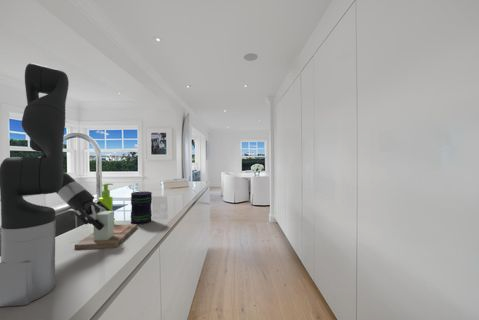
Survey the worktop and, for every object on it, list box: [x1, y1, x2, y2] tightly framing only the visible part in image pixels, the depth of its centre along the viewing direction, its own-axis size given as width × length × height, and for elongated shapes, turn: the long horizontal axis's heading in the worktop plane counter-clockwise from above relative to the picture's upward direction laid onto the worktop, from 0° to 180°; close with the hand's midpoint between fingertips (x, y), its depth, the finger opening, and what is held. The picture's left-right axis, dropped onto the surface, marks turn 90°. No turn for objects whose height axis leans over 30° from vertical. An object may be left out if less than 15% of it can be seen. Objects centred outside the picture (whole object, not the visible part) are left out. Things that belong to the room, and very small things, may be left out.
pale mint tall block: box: [93, 210, 115, 241], centre depth 81 cm, size 5×5×10 cm
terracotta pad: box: [114, 226, 129, 233], centre depth 90 cm, size 9×9×1 cm
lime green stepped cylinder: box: [98, 182, 114, 211], centre depth 102 cm, size 6×7×20 cm
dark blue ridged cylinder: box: [130, 191, 153, 226], centre depth 107 cm, size 10×10×15 cm
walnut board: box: [73, 223, 138, 250], centre depth 86 cm, size 22×14×2 cm, turn 8°
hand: (107, 224), depth 81 cm, fingers open, 8 cm apart
